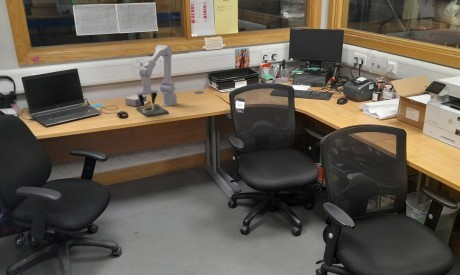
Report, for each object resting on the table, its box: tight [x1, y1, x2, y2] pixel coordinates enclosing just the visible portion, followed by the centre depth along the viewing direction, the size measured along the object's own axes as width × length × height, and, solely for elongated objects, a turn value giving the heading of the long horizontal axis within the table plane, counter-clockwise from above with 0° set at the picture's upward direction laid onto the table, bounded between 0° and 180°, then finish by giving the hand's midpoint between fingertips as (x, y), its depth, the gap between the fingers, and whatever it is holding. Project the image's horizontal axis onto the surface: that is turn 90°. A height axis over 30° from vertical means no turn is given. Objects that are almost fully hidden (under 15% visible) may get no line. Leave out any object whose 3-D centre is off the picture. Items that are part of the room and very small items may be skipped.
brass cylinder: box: [144, 100, 152, 110], centre depth 275 cm, size 4×4×7 cm
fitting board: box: [135, 103, 170, 118], centre depth 280 cm, size 16×20×4 cm
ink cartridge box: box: [125, 93, 147, 107], centre depth 298 cm, size 10×6×14 cm
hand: (148, 104), depth 274 cm, fingers open, 7 cm apart
